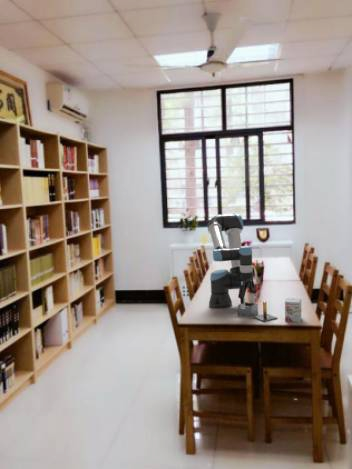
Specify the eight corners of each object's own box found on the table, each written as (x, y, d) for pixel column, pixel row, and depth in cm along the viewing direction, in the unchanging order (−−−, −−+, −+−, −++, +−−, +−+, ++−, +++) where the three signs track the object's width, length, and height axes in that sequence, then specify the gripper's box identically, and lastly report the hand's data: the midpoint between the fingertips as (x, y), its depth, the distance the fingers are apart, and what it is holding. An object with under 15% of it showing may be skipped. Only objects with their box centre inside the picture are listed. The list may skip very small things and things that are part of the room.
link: (238, 315, 266) (237, 305, 266) (244, 311, 274) (244, 301, 273) (251, 316, 261) (251, 307, 261) (257, 312, 269) (257, 303, 268)
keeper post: (253, 317, 259) (252, 301, 258) (266, 314, 264) (266, 298, 263) (263, 321, 250) (262, 305, 249) (277, 318, 255) (276, 302, 254)
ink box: (284, 321, 249) (284, 301, 248) (286, 317, 257) (286, 297, 256) (300, 322, 246) (300, 301, 245) (301, 317, 254) (301, 298, 253)
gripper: (243, 275, 252) (244, 311, 254) (260, 268, 273) (261, 302, 275) (231, 275, 257) (233, 310, 258) (249, 268, 277) (250, 301, 279)
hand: (247, 306), depth 266 cm, fingers open, 13 cm apart
